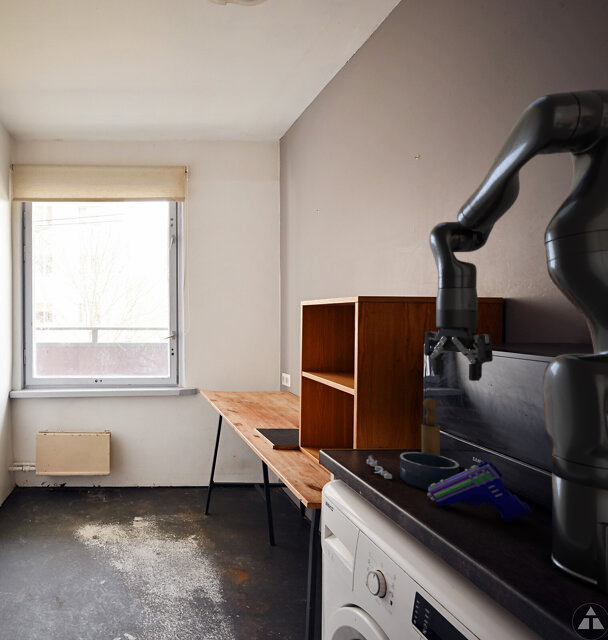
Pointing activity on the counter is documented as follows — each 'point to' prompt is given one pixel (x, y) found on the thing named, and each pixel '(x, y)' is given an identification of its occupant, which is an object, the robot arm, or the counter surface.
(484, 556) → the counter surface
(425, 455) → the blue bowl
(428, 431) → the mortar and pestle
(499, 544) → the counter surface
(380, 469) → the figurines set
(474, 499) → the toy gun
